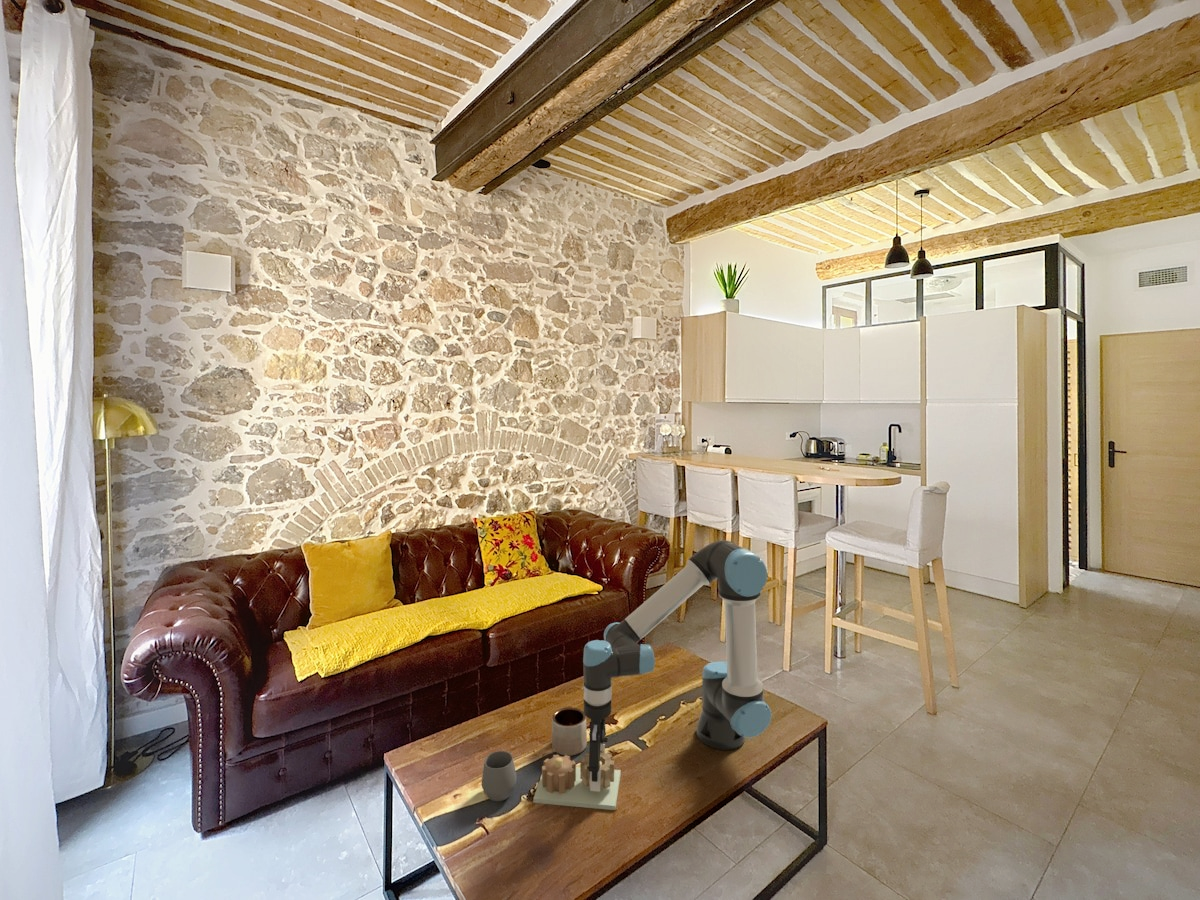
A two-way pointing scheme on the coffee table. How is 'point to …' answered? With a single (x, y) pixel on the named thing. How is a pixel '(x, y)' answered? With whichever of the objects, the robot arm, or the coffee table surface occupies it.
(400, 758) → the coffee table surface
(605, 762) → the beech gear
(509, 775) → the cup
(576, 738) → the planter
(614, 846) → the coffee table surface
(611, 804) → the gear board
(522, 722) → the coffee table surface
